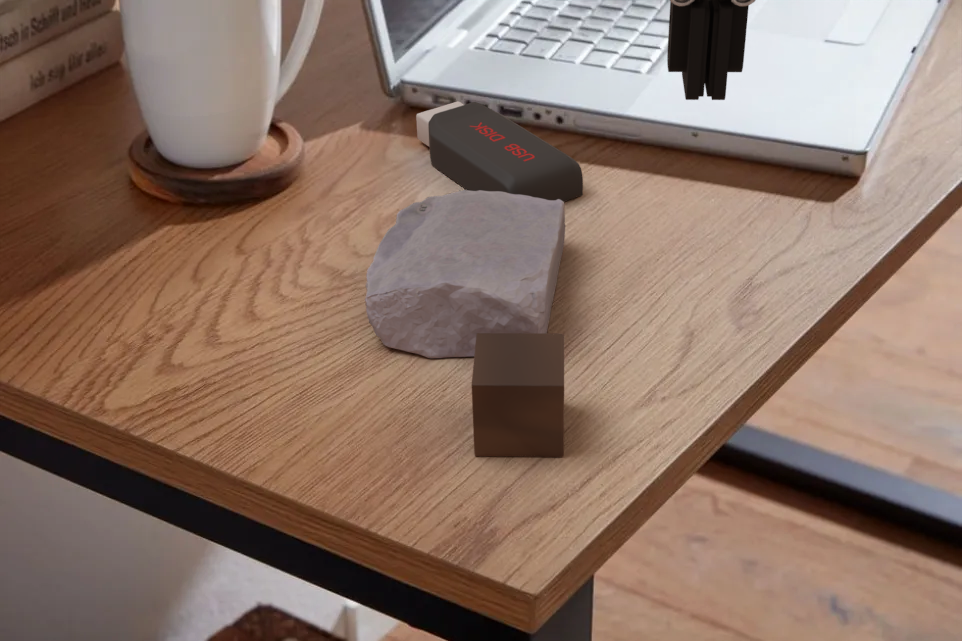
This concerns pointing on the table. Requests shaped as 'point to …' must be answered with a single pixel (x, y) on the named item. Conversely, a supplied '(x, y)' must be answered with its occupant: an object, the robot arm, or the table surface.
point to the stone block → (465, 271)
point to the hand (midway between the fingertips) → (702, 85)
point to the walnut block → (518, 394)
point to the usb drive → (496, 153)
